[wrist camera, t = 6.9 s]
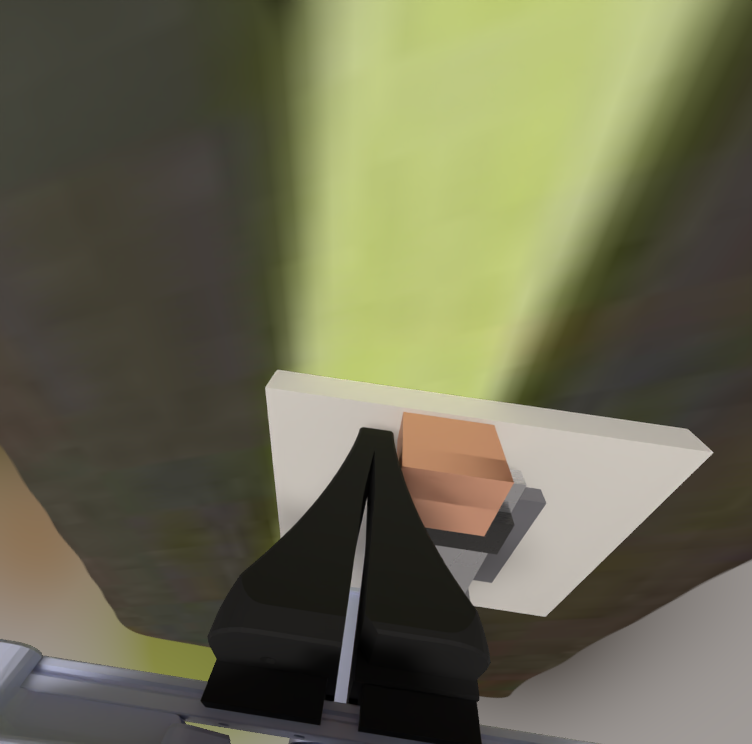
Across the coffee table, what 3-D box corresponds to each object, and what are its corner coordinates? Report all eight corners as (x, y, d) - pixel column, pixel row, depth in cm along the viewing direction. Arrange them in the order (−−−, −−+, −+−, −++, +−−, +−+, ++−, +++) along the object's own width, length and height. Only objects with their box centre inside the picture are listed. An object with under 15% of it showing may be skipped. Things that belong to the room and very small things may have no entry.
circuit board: (538, 594, 25) (559, 662, 21) (291, 556, 25) (272, 617, 21) (687, 428, 15) (772, 505, 11) (277, 369, 15) (238, 427, 12)
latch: (471, 476, 15) (484, 536, 13) (392, 465, 15) (388, 522, 13) (494, 425, 13) (513, 482, 11) (403, 412, 14) (402, 466, 11)
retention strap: (448, 600, 22) (451, 629, 20) (391, 591, 22) (390, 620, 20) (518, 465, 14) (531, 497, 13) (433, 453, 14) (436, 482, 13)
